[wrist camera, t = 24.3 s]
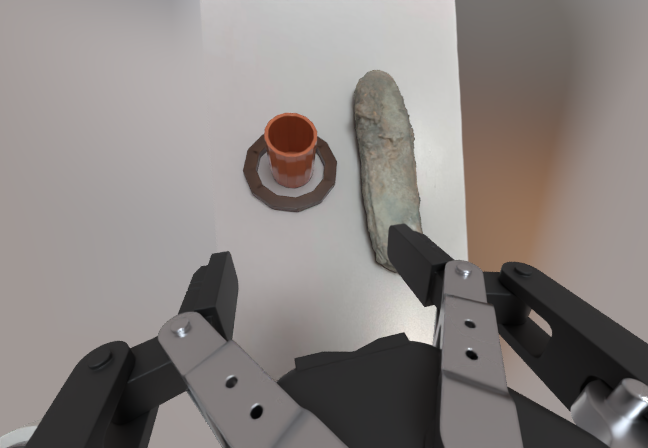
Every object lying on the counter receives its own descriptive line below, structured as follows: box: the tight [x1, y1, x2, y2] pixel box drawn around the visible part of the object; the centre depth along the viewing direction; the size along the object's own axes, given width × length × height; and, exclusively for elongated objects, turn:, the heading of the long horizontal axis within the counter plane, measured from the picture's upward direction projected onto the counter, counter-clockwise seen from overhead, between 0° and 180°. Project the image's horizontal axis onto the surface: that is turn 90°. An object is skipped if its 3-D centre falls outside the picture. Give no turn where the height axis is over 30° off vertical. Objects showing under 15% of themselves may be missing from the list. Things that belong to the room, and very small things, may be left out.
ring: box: [243, 133, 337, 212], centre depth 39 cm, size 14×14×1 cm
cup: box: [264, 113, 317, 188], centre depth 35 cm, size 6×6×8 cm
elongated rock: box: [354, 70, 423, 272], centre depth 39 cm, size 35×5×10 cm
